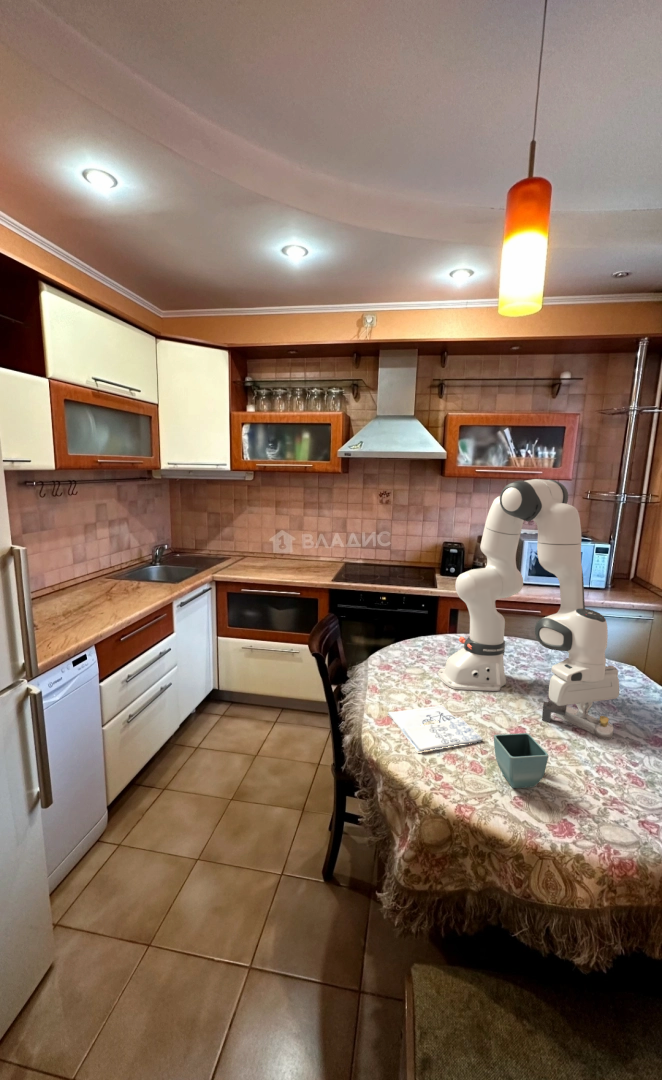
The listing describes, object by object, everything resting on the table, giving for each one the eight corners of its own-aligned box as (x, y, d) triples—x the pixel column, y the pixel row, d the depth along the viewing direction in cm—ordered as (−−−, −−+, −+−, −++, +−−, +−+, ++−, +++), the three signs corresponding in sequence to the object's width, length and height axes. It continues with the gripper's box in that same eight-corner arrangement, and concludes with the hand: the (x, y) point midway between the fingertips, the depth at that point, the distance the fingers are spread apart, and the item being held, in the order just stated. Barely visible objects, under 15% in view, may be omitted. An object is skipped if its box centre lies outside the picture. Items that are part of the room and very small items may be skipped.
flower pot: (490, 769, 104) (492, 734, 103) (525, 767, 105) (528, 732, 103) (508, 795, 95) (510, 757, 94) (546, 793, 96) (549, 755, 95)
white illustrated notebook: (417, 757, 109) (418, 749, 109) (386, 715, 128) (386, 708, 128) (484, 744, 114) (484, 737, 114) (444, 706, 134) (444, 699, 133)
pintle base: (620, 759, 108) (623, 736, 107) (536, 735, 118) (538, 714, 117) (619, 725, 123) (621, 704, 122) (544, 706, 133) (546, 687, 132)
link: (615, 735, 115) (616, 726, 115) (607, 741, 113) (608, 731, 112) (562, 712, 127) (562, 703, 126) (553, 716, 124) (554, 707, 124)
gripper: (608, 660, 126) (604, 705, 127) (546, 667, 121) (543, 713, 123) (627, 669, 120) (623, 716, 121) (562, 676, 115) (559, 725, 117)
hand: (582, 715), depth 122 cm, fingers closed, pressing on link
